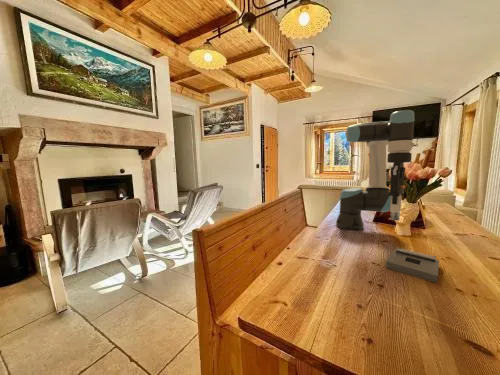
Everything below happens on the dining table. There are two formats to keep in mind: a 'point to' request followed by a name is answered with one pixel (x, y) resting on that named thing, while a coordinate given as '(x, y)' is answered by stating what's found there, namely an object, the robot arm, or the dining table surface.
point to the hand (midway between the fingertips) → (395, 211)
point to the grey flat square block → (414, 264)
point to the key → (395, 215)
